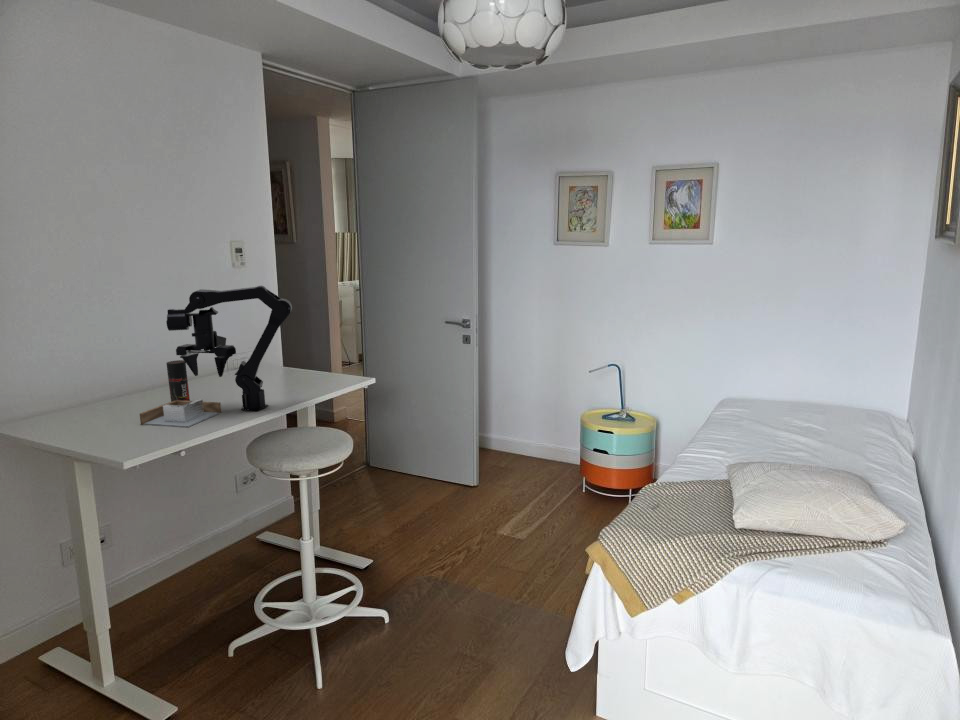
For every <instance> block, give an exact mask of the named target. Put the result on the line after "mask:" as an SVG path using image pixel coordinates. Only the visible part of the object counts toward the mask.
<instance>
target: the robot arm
mask: <svg viewBox="0 0 960 720" xmlns="http://www.w3.org/2000/svg"><path fill="white" fill-rule="evenodd" d="M254 299H255V300H257V299H258V300H260V301H261V302H262V303H263V304H264V305H265V306H267V307H268V308H269V309H271V311H270V314H269V318H268V323H267V325H266V327H265V328H264V330H263V332H262V333H261V336H260V338H259V339H258V341H257V344H256V345H255V347H254V349H253V351H252V354H251V355H250V357H249V358H248V360H247V361H244V360H242V361H241V362H240V364H239V367H238V369H237V370H236V372H235V373H234V376H235V379H234V380H235V383H236V386H237V387H239V388H241V390H242V395H241V402H242V408H240V410H241V411H252V412H253V411H255V412H259V411H261V410H262V409H264V408H265V409H266V408H267V407H269V404H268V403H267V404H266V398H265V396H266V395H265V389H264V388H262V387H263V384H264V380H262V379H261V378H260V377H259V376H257V375H258V372H259V368H260V365H261V362H262V359H264V357H265V354H266V352H267V350H268V348H269V346H270V345H271V344H272V341H273V339H274V337H275V335H276V333H277V332H278V330H279V328H280V327H281V326H282V324H283V323H284V322H285V320H286V319H287V318H288V317H289V315H290V314H291V312H292V311H293V305H292V303H291V301H290V300H288V299H286V298H282V297H280V296H278V295H277V294H275V293H273V292H272V291H271V290H269V289H268V288H266V287H265V286H264V285H257V286H252V287H243V288H235V289H234V288H233V289H227V290H226V289H225V290H216V289H202V288H201V289H198V290H195V291H193V292H191V294H190V295H189V298H188V301H189V303H188V304H187V306H185V308H184V309H183V308H181V309H180V308H178V309H175V308H169V309H167V315H166V328H167V330H168V331H170V332H171V331H189V329H190V327H193V332H192V333H191V337H193V338H194V341H195V342H194V343H195V344H194V343H192V344H191V343H186V344H181V345H177V347H176V349H175V354H176V356H179V358H180V359H182V360H184V361H185V362H186V366H188V368H189V369H190V371H191V372H192V374H193V376H194V377H197V376H199V367H198V357H199V354H214V355H215V357H214V362H215V367H216V371H217V374H218V377H219V378H221V377H223V375H224V371H225V367H226V364H227V362H228V360H229V358H231V357H233V355H236V354H237V351H236V350H237V348H236V347H235V346H234V344H233V345H232V344H231V345H230V344H229V345H228V344H227V337H224V336H222V335H218V332H217V330H214V324H213V316H216V315H217V314H219V311H217V310H216V309H215V308H214V307H213V306H216V305H218V304H223V303H229V302H239V301H248V300H254ZM205 308H209V309H205ZM196 310H199V311H198V312H195V313H194V311H196Z"/></svg>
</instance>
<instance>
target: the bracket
mask: <svg viewBox="0 0 960 720" xmlns="http://www.w3.org/2000/svg"><path fill="white" fill-rule="evenodd" d="M192 401H193V402H190V403H188V404H185V405H164V404H163V405H164V406H163V411H164V420H165V421H169V422H188V421H190V420H192V419H195V418H197V417H199V416H202V415H204V409H203V402H204V401H203V399H196V400H192Z"/></svg>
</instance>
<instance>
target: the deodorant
mask: <svg viewBox="0 0 960 720" xmlns="http://www.w3.org/2000/svg"><path fill="white" fill-rule="evenodd" d="M166 371H167V380H168V388H169V395H170V402H172V401H175V400H182V401H191V399H190V390H189V381H188V375H187V373H188V371H187V364H186V362H185V361H184V360H183V359H182V360H179V359H178V360H170V361H166Z"/></svg>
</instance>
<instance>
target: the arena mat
mask: <svg viewBox="0 0 960 720" xmlns="http://www.w3.org/2000/svg"><path fill="white" fill-rule="evenodd" d="M217 415H219V413H217V412H204V415H202V416H199V417H197V418H195V419H192V420H190V421H188V422H169V421H165V420H164V416H161V417H159V418H156V419H154V420H151V421H149V422H146V423H144V426H158V427H159V426H161V427H175V428H177V427H179V428H190V427H192V426H195V425H197V424H199V423H202V422H204V421H207V420H208V419H211V418H213V417H215V416H217Z"/></svg>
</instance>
